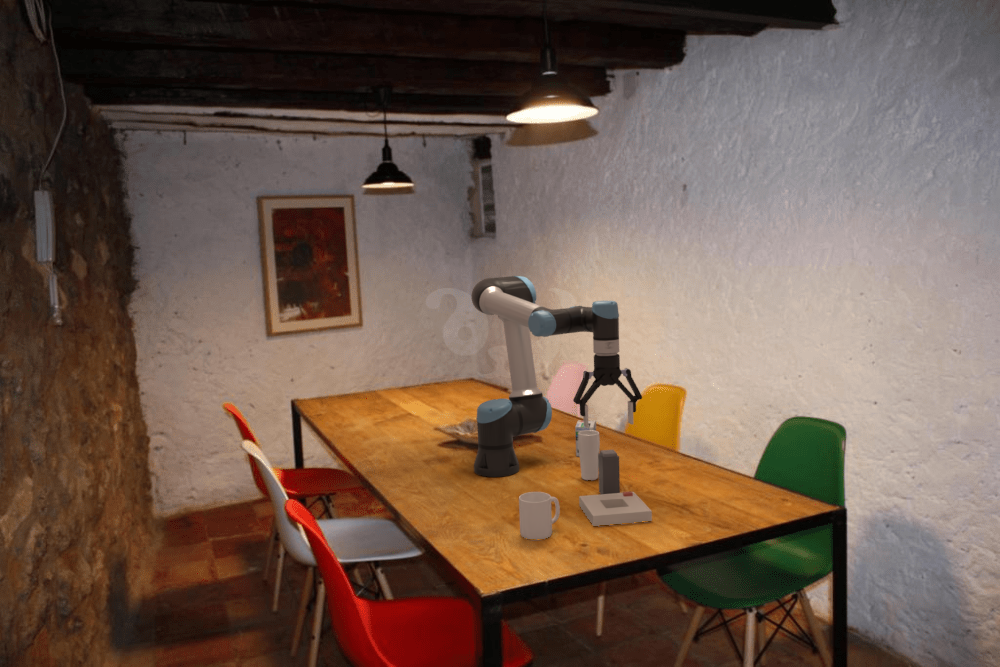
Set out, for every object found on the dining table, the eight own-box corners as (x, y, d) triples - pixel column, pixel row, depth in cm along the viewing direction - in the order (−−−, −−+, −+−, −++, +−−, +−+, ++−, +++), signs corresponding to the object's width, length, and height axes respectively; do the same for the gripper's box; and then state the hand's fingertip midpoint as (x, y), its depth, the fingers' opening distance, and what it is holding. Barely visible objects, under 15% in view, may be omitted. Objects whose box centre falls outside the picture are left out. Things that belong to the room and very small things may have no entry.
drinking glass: (602, 476, 240) (601, 430, 238) (598, 482, 234) (597, 435, 232) (581, 474, 242) (580, 429, 240) (577, 481, 236) (575, 434, 234)
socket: (593, 526, 197) (593, 513, 197) (579, 506, 213) (579, 493, 213) (651, 521, 199) (651, 508, 199) (633, 501, 215) (633, 489, 215)
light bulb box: (594, 457, 261) (594, 427, 260) (575, 457, 263) (574, 427, 261) (597, 449, 272) (596, 419, 270) (578, 448, 273) (577, 419, 272)
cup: (514, 533, 195) (512, 496, 194) (550, 522, 201) (549, 486, 200) (532, 543, 188) (531, 504, 187) (569, 531, 195) (568, 494, 193)
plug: (603, 497, 220) (602, 454, 218) (599, 492, 224) (598, 450, 223) (620, 496, 220) (619, 453, 219) (615, 490, 225) (614, 449, 224)
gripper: (567, 358, 213) (570, 431, 215) (651, 352, 216) (653, 424, 218) (561, 354, 220) (564, 425, 222) (643, 349, 223) (645, 419, 226)
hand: (608, 425), depth 220 cm, fingers open, 13 cm apart
